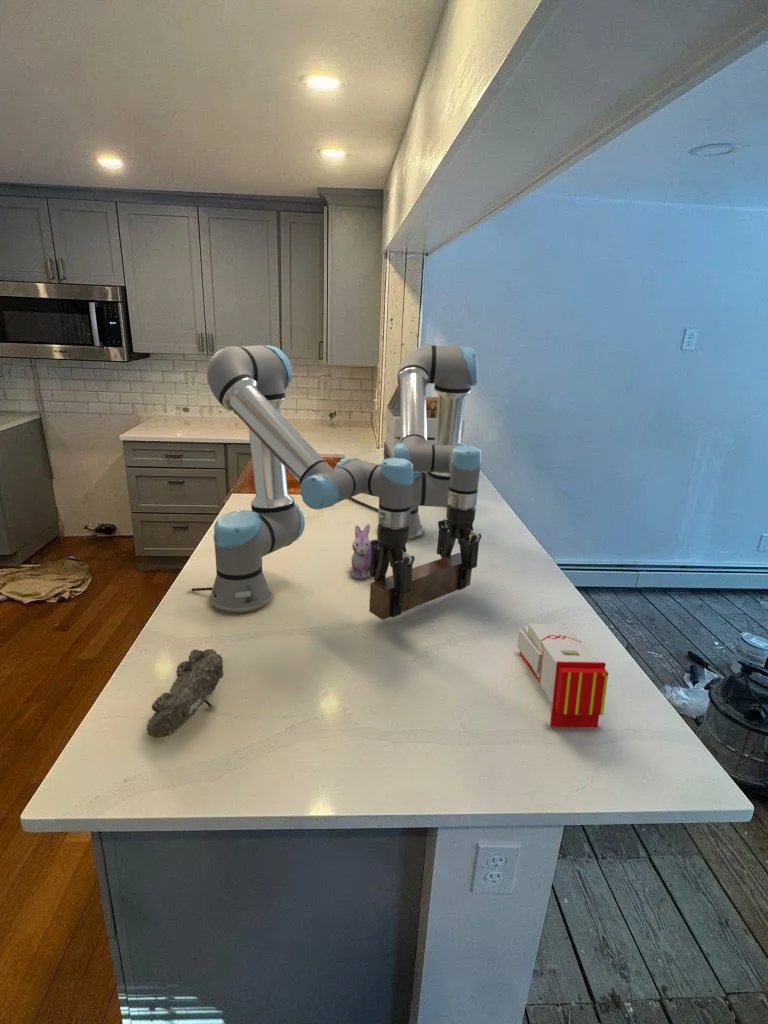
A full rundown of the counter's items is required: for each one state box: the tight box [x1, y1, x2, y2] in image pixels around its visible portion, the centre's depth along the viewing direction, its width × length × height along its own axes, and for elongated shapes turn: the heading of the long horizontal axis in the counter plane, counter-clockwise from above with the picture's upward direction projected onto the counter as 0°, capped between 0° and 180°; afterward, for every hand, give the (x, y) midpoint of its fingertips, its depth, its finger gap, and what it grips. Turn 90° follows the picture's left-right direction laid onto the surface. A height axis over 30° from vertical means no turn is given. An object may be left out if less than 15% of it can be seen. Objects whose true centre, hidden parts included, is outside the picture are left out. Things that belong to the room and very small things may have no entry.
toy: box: [516, 623, 609, 728], centre depth 121 cm, size 12×13×30 cm
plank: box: [368, 552, 473, 621], centre depth 148 cm, size 32×5×8 cm, turn 131°
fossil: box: [146, 648, 224, 739], centre depth 109 cm, size 22×10×15 cm
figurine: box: [350, 523, 376, 580], centre depth 167 cm, size 9×10×15 cm
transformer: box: [383, 384, 465, 460], centre depth 268 cm, size 34×33×41 cm
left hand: (388, 609), depth 142 cm, fingers closed on plank, 5 cm apart
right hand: (453, 584), depth 157 cm, fingers closed on plank, 5 cm apart
